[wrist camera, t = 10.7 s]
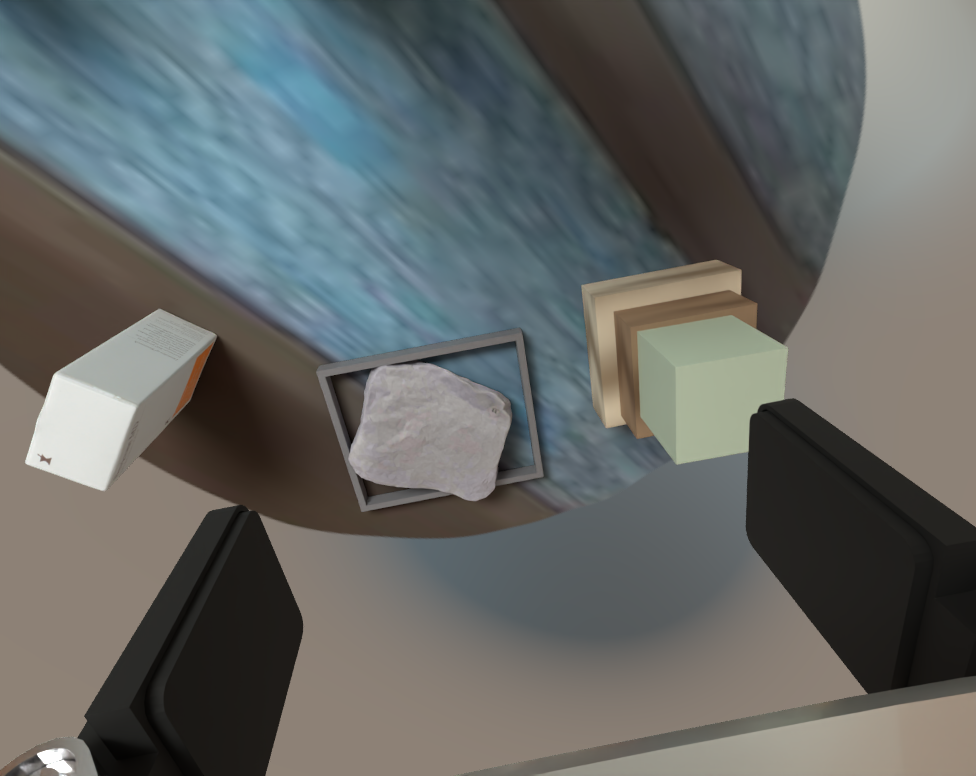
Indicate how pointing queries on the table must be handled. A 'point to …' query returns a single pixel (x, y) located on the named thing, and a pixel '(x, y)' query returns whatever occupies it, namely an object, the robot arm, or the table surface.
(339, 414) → the tray rim
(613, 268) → the table surface
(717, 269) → the beech block
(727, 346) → the green cube
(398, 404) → the stone block
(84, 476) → the skincare box
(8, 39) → the table surface
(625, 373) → the walnut block
